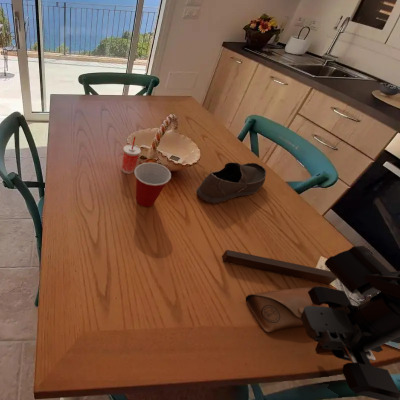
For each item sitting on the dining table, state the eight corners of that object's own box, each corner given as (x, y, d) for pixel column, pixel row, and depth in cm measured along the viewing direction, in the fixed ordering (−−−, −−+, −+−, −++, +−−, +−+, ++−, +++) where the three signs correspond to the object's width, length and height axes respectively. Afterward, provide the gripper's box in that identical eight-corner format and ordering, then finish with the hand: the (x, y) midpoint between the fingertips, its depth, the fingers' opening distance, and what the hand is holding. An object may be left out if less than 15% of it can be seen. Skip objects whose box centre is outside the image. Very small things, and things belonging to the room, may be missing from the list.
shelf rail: (328, 284, 68) (337, 278, 66) (222, 262, 72) (227, 255, 70) (325, 278, 70) (333, 271, 68) (221, 256, 73) (226, 249, 71)
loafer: (269, 186, 98) (286, 162, 91) (216, 213, 86) (230, 188, 78) (243, 170, 104) (256, 147, 97) (190, 193, 92) (201, 168, 85)
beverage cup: (120, 164, 103) (126, 131, 94) (136, 166, 102) (144, 133, 93) (118, 173, 99) (125, 139, 89) (135, 176, 98) (143, 142, 88)
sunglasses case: (268, 335, 57) (271, 307, 56) (243, 315, 64) (246, 289, 63) (338, 324, 60) (343, 297, 59) (307, 305, 67) (311, 281, 66)
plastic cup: (122, 193, 90) (128, 164, 82) (150, 188, 93) (158, 159, 85) (137, 216, 83) (146, 186, 75) (167, 209, 86) (178, 179, 78)
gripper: (305, 261, 52) (263, 300, 62) (355, 368, 38) (291, 394, 49) (369, 275, 50) (315, 312, 61) (445, 390, 37) (359, 413, 47)
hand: (318, 352), depth 55 cm, fingers closed
